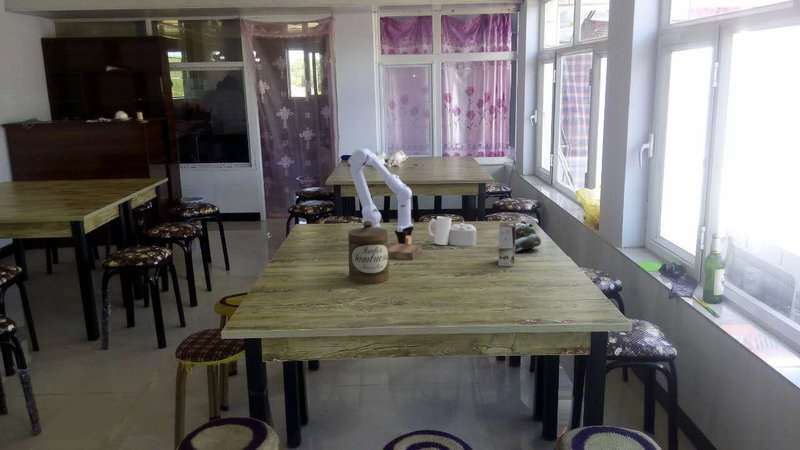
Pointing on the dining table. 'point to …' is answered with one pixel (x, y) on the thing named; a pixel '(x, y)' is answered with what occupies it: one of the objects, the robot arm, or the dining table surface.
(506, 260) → the coffee box
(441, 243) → the mug
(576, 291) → the dining table surface
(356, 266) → the wooden container
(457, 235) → the lumpy-topped squat cylinder
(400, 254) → the walnut base
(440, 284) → the dining table surface
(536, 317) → the dining table surface
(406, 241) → the terracotta cube
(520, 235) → the lucky cat figurine
